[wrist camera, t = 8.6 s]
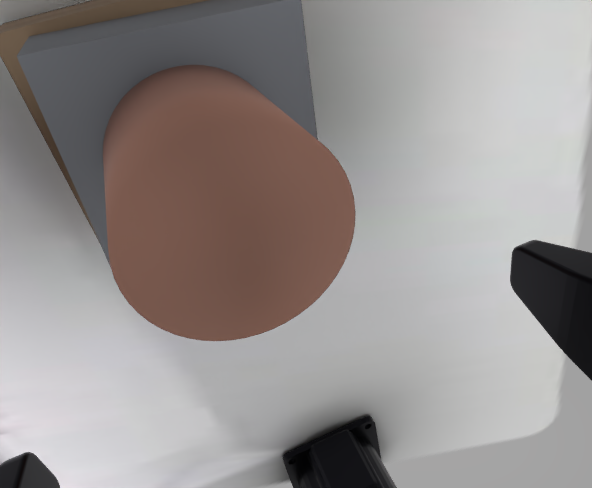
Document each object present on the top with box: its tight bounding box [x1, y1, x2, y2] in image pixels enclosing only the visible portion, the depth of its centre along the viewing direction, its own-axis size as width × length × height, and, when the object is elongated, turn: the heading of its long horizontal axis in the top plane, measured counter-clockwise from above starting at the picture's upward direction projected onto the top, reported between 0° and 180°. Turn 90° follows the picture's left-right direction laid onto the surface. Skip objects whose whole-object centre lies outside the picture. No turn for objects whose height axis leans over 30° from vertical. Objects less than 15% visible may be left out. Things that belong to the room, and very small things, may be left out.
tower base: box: [0, 0, 208, 243], centre depth 17 cm, size 8×8×3 cm
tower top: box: [17, 0, 318, 267], centre depth 15 cm, size 7×7×3 cm
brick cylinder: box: [103, 65, 355, 341], centre depth 12 cm, size 5×5×5 cm
